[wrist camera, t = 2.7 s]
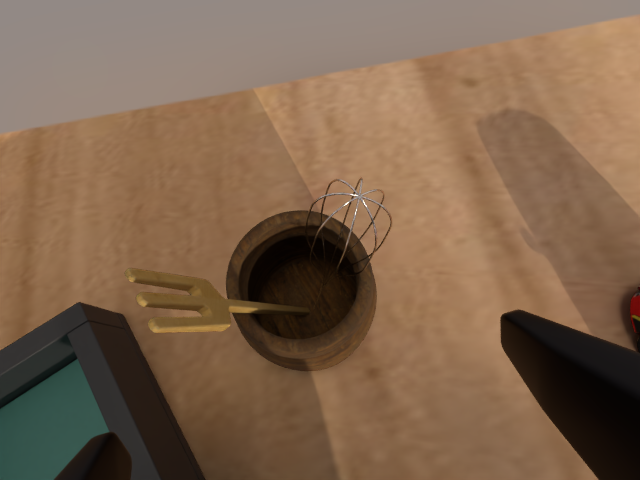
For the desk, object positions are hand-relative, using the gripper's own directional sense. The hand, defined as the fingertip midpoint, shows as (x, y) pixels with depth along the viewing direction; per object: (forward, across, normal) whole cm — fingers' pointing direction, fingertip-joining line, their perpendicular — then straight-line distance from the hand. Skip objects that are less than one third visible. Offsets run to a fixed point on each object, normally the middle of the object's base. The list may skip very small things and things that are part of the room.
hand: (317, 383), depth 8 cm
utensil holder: (+10, 0, +5) cm, 11 cm away
